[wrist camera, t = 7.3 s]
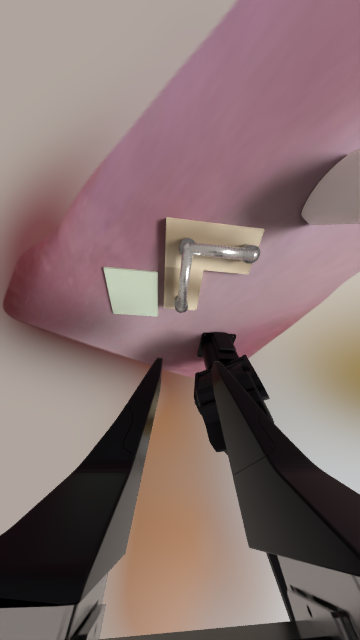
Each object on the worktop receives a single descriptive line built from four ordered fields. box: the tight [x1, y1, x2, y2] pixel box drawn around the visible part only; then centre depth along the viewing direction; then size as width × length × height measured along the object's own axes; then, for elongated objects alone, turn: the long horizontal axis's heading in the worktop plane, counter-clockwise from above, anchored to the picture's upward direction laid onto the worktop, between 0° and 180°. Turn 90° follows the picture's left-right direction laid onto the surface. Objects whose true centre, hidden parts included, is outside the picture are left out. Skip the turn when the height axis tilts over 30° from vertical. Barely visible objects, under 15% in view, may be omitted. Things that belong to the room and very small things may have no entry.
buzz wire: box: [164, 217, 265, 313], centre depth 17 cm, size 11×11×4 cm
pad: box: [104, 267, 158, 316], centre depth 20 cm, size 7×7×1 cm
